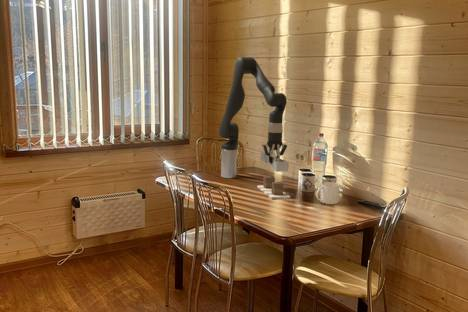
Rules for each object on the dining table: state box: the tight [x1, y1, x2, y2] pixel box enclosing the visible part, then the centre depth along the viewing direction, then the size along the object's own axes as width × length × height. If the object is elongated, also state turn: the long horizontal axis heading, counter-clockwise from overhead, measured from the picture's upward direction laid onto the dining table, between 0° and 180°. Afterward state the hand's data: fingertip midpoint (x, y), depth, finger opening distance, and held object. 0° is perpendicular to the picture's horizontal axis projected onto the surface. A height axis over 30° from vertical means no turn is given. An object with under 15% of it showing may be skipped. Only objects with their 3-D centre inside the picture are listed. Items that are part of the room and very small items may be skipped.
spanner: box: [260, 151, 290, 173], centre depth 243 cm, size 26×6×5 cm, turn 14°
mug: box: [315, 181, 340, 205], centre depth 230 cm, size 12×9×9 cm
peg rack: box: [256, 175, 291, 200], centre depth 246 cm, size 26×10×7 cm, turn 14°
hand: (273, 163), depth 243 cm, fingers closed on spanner, 3 cm apart
